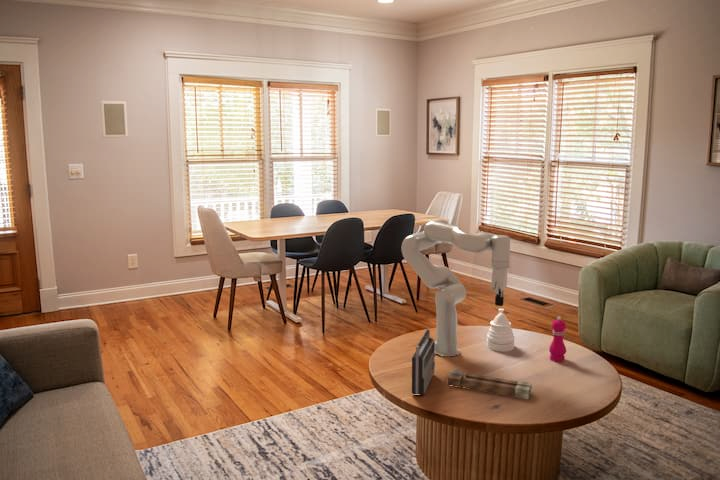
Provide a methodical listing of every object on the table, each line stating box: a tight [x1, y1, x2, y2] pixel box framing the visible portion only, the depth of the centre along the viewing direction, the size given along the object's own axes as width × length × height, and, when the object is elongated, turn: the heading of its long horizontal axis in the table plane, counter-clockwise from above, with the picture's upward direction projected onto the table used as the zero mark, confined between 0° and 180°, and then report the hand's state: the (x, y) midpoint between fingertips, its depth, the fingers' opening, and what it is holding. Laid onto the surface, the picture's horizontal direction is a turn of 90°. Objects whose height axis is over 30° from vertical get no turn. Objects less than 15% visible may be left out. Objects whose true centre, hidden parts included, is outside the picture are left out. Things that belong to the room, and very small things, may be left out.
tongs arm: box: [464, 372, 533, 395], centre depth 242 cm, size 26×3×4 cm, turn 64°
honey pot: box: [486, 308, 515, 352], centre depth 287 cm, size 13×13×18 cm
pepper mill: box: [548, 316, 567, 363], centre depth 270 cm, size 7×7×20 cm
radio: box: [411, 328, 436, 396], centre depth 245 cm, size 24×5×20 cm, turn 163°
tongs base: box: [447, 369, 531, 400], centre depth 242 cm, size 32×8×4 cm, turn 64°
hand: (499, 305), depth 262 cm, fingers closed
